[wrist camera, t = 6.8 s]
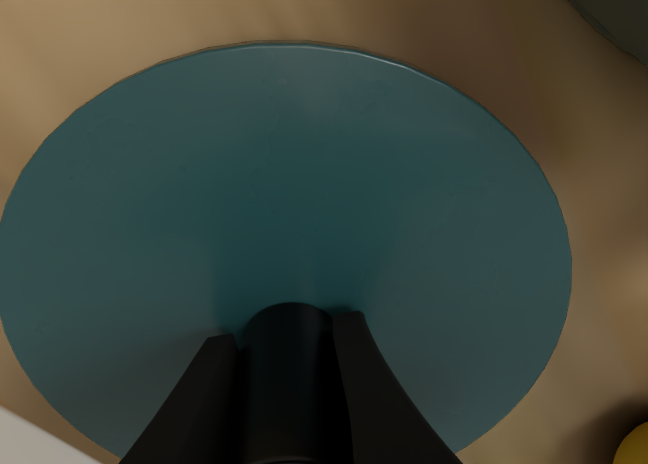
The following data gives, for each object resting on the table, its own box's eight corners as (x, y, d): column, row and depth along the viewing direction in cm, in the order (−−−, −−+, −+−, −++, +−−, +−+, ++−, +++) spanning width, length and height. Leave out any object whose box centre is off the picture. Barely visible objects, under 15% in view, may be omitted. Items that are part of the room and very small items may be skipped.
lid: (570, -37, 8) (867, -40, 4) (539, 429, 15) (636, 618, 11) (-112, 112, 9) (-490, 246, 5) (146, 492, 16) (88, 692, 12)
